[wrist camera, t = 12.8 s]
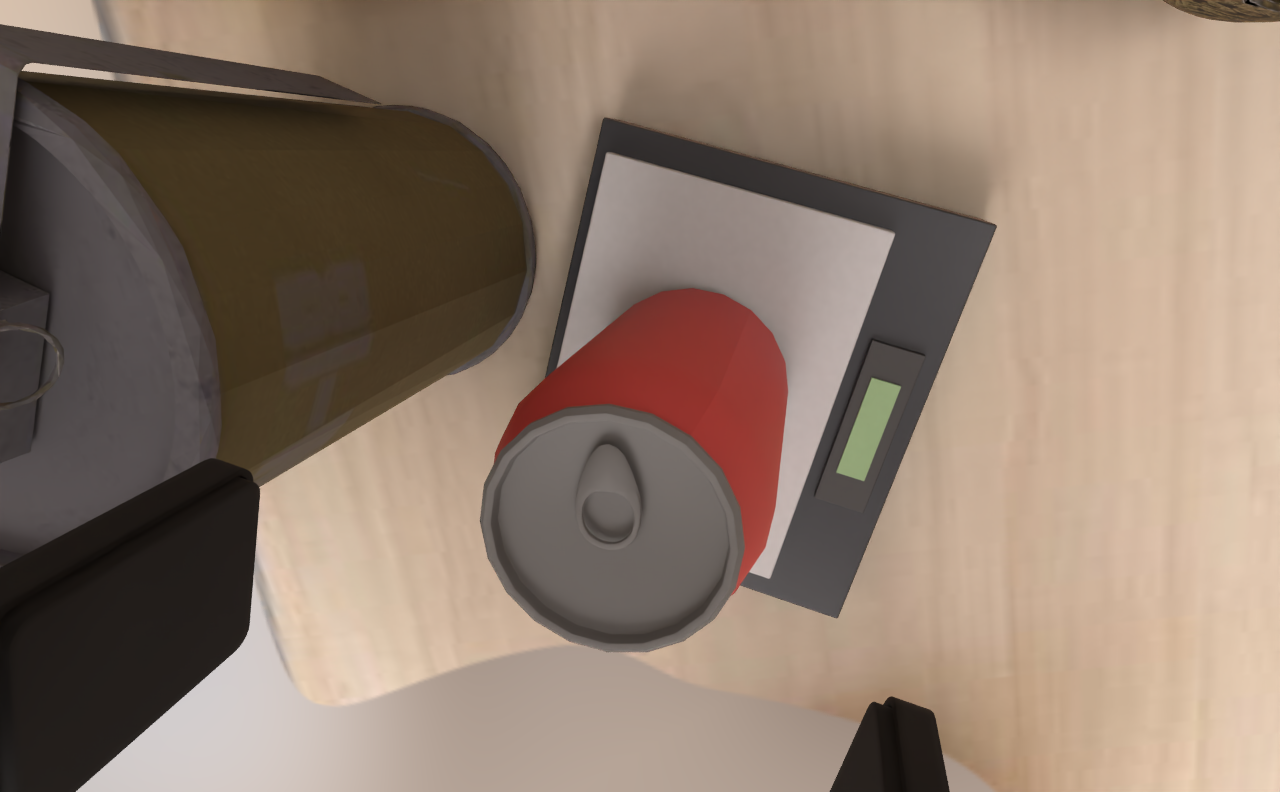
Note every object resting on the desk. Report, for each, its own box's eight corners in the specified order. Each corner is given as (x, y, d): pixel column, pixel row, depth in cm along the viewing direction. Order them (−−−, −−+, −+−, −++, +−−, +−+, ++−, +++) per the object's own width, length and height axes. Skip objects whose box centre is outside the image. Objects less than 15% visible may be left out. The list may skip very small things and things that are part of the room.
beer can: (795, 289, 26) (781, 394, 14) (782, 476, 27) (760, 698, 16) (599, 280, 27) (445, 370, 16) (600, 459, 29) (463, 654, 18)
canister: (488, 416, 32) (34, 779, 13) (267, 312, 33) (-454, 518, 14) (579, 160, 28) (124, 168, 10) (327, 49, 29) (-547, -142, 10)
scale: (617, 119, 28) (598, 116, 25) (984, 220, 26) (1002, 226, 24) (532, 489, 33) (509, 515, 30) (836, 591, 31) (838, 628, 29)
